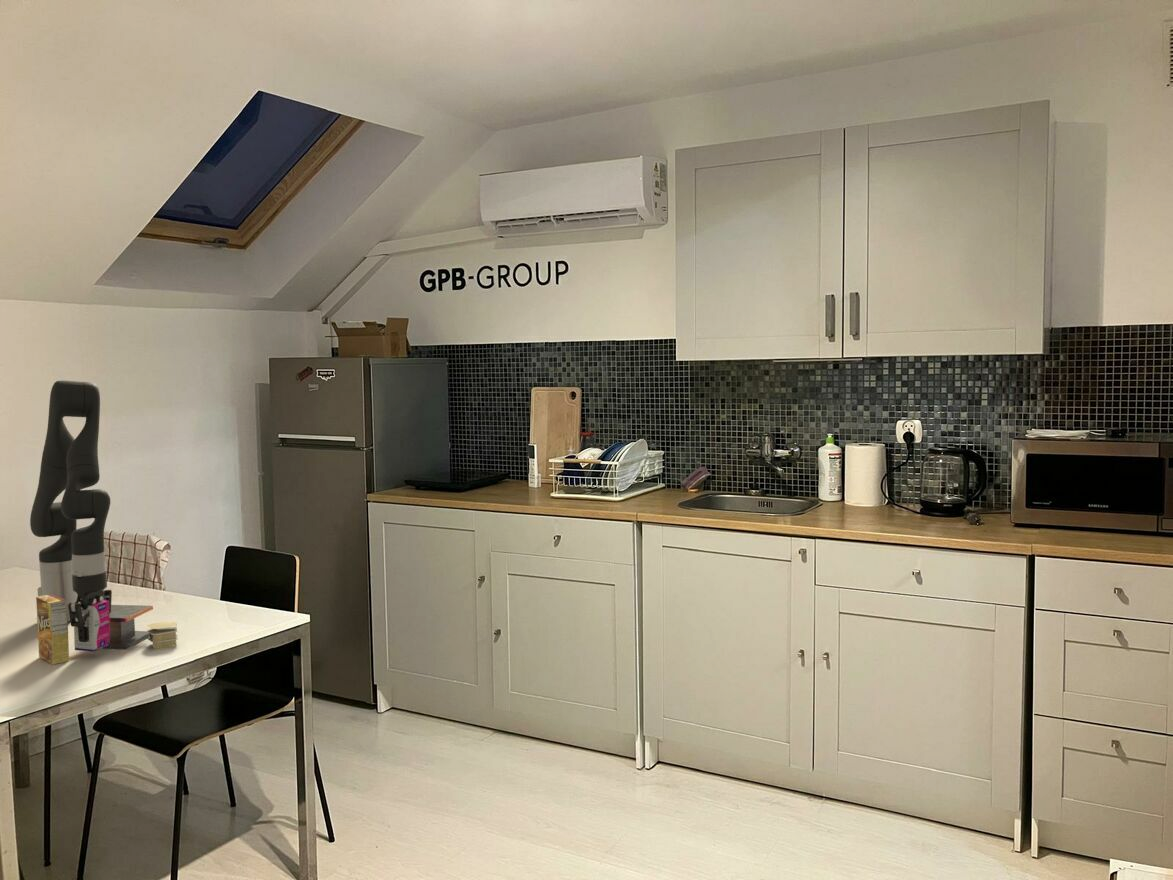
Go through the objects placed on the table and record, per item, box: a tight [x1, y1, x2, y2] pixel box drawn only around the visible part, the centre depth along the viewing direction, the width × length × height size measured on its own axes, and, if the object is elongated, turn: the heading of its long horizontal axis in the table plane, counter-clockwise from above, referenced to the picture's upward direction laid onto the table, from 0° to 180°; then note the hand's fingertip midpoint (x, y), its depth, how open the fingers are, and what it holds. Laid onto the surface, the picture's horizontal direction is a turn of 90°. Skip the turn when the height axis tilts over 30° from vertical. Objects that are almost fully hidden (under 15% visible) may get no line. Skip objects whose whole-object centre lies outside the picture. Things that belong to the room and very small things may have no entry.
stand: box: [102, 604, 154, 650], centre depth 246 cm, size 12×12×8 cm
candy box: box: [35, 594, 70, 666], centre depth 231 cm, size 9×4×15 cm, turn 50°
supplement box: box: [73, 600, 110, 653], centre depth 233 cm, size 6×6×12 cm
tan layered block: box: [146, 621, 178, 649], centre depth 243 cm, size 10×9×6 cm
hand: (92, 637), depth 233 cm, fingers closed on supplement box, 6 cm apart
